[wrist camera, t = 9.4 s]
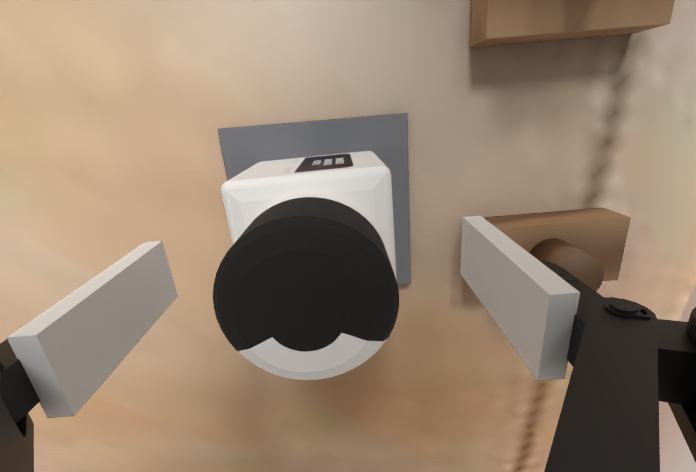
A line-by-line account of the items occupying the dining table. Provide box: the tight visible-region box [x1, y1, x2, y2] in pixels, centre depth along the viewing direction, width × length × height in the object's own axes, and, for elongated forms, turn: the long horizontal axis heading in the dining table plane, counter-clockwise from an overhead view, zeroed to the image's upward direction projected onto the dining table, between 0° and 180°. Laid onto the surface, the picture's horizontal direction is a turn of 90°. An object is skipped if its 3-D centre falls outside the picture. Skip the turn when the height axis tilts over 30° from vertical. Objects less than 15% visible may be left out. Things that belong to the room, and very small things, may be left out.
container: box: [213, 151, 399, 380], centre depth 18 cm, size 8×8×13 cm
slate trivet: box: [218, 113, 411, 285], centre depth 24 cm, size 12×12×1 cm
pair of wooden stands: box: [470, 0, 675, 292], centre depth 18 cm, size 23×10×8 cm, turn 4°
